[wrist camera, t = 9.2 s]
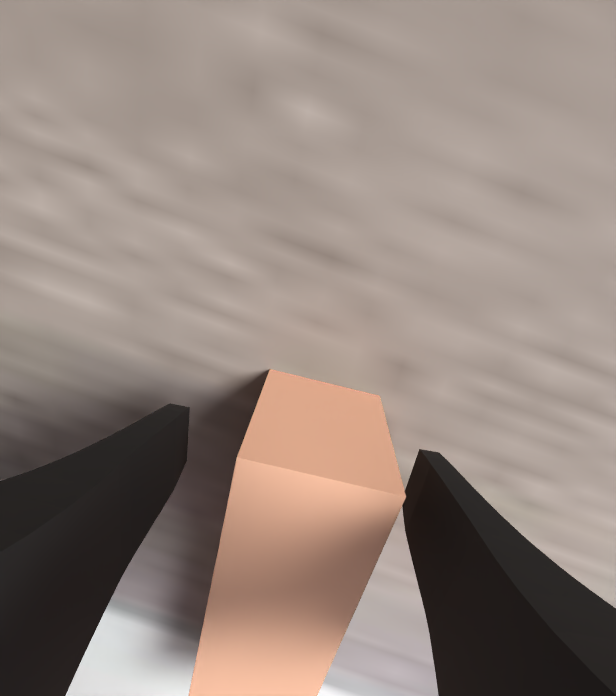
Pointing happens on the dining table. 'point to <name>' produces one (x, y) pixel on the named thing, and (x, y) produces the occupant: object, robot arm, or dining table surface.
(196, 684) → the orange long block
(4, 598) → the robot arm
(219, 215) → the dining table surface
